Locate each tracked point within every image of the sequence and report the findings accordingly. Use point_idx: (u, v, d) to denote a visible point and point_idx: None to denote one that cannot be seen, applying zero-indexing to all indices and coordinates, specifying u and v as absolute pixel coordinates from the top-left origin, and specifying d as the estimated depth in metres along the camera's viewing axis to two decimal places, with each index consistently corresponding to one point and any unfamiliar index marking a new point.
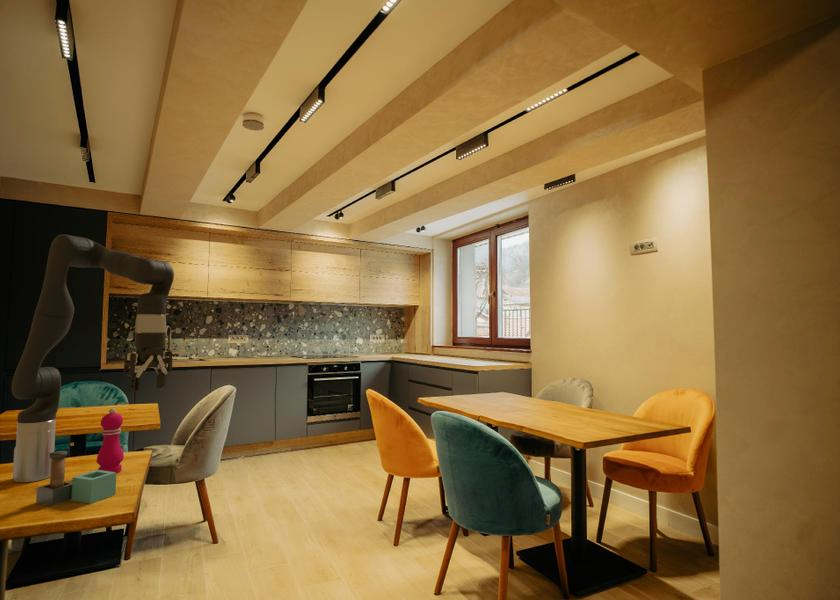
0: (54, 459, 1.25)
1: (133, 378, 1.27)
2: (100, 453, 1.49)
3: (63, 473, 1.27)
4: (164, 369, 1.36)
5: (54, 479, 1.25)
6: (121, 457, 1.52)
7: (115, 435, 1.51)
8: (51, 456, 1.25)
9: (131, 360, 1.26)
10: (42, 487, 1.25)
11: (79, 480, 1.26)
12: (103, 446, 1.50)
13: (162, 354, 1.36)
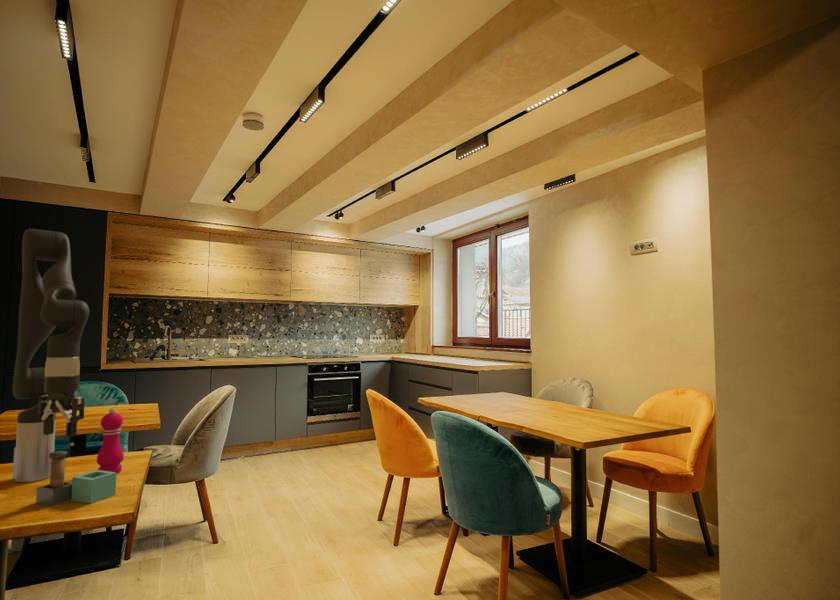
0: (54, 459, 1.25)
1: (75, 422, 1.26)
2: (100, 453, 1.49)
3: (63, 473, 1.27)
4: None
5: (54, 479, 1.25)
6: (121, 457, 1.52)
7: (115, 435, 1.51)
8: (51, 456, 1.25)
9: (83, 403, 1.26)
10: (42, 487, 1.25)
11: (79, 480, 1.26)
12: (103, 446, 1.50)
13: None
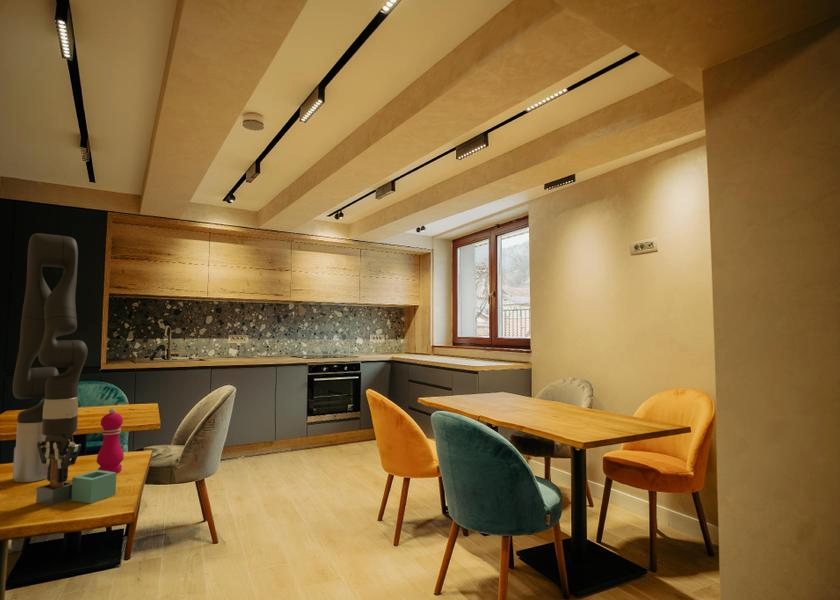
0: (54, 459, 1.25)
1: (66, 467, 1.26)
2: (100, 453, 1.49)
3: None
4: None
5: (54, 479, 1.25)
6: (121, 457, 1.52)
7: (115, 435, 1.51)
8: (51, 456, 1.25)
9: (78, 451, 1.26)
10: (42, 487, 1.25)
11: (79, 480, 1.26)
12: (103, 446, 1.50)
13: None
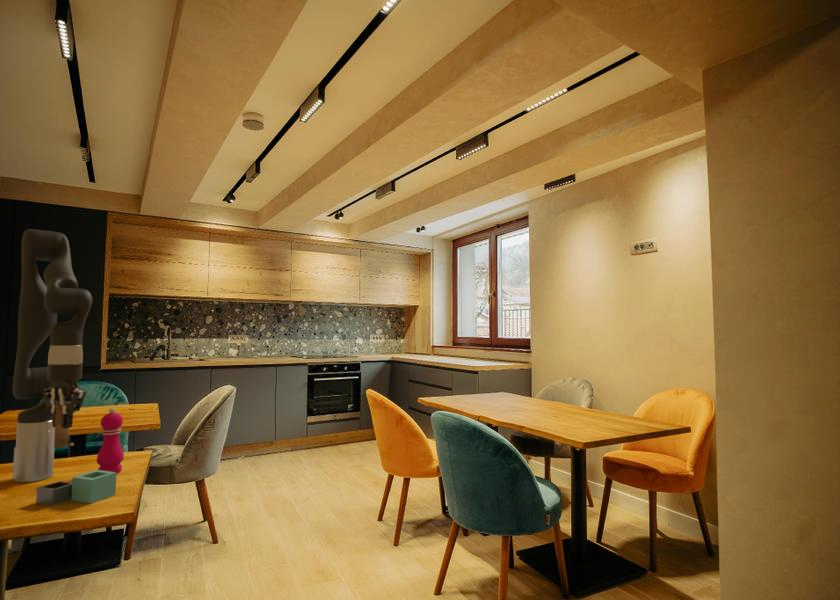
0: (59, 405, 1.26)
1: (71, 414, 1.27)
2: (100, 453, 1.49)
3: None
4: None
5: (59, 425, 1.26)
6: (121, 457, 1.52)
7: (115, 435, 1.51)
8: (56, 402, 1.26)
9: (83, 397, 1.27)
10: (42, 487, 1.25)
11: (79, 480, 1.26)
12: (103, 446, 1.50)
13: None
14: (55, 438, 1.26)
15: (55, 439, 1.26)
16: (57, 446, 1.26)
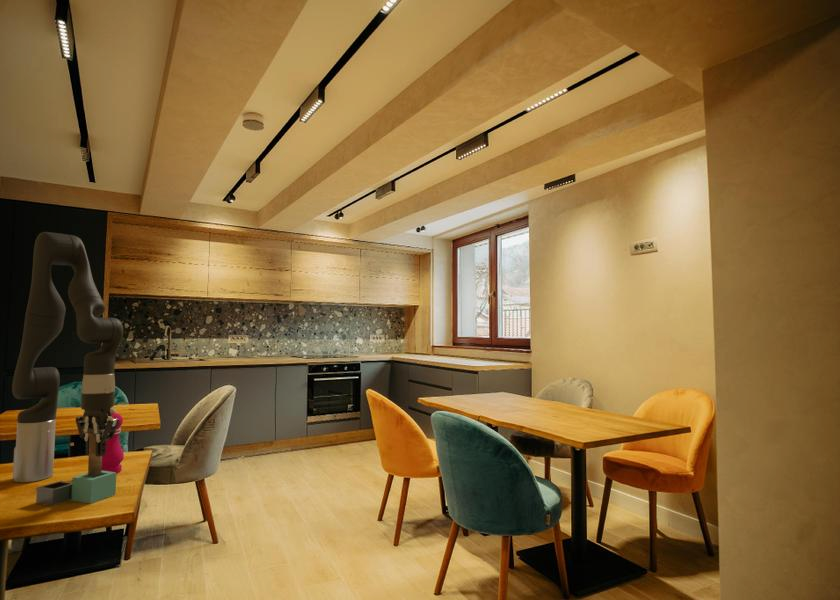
0: (93, 433, 1.28)
1: (105, 442, 1.29)
2: None
3: None
4: None
5: (93, 453, 1.28)
6: (121, 457, 1.52)
7: (115, 435, 1.51)
8: (90, 430, 1.28)
9: (116, 426, 1.29)
10: (42, 487, 1.25)
11: (79, 480, 1.26)
12: None
13: None
14: (89, 466, 1.28)
15: (89, 467, 1.28)
16: (91, 474, 1.27)
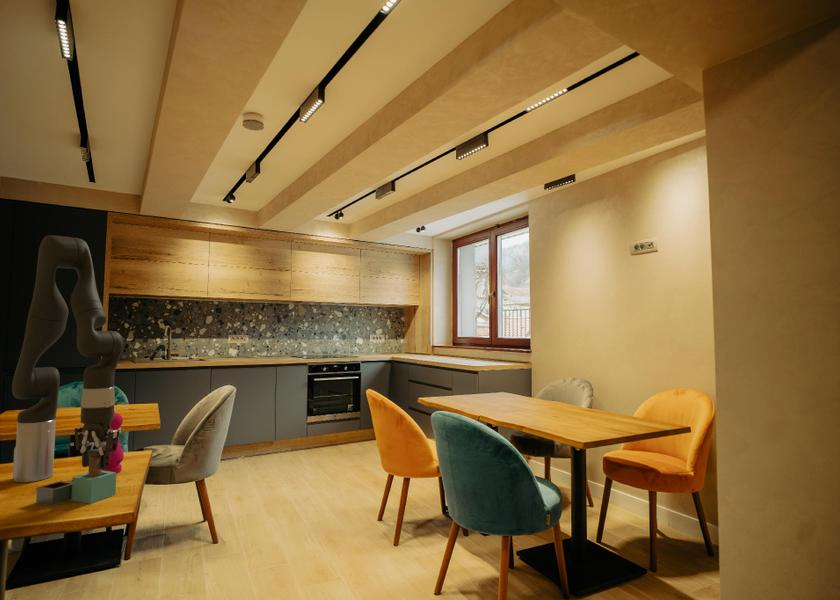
0: (92, 456, 1.28)
1: (108, 454, 1.28)
2: None
3: (100, 470, 1.29)
4: None
5: (93, 477, 1.28)
6: (121, 457, 1.52)
7: None
8: (89, 454, 1.27)
9: (117, 437, 1.28)
10: (42, 487, 1.25)
11: (79, 480, 1.26)
12: (103, 446, 1.50)
13: None
14: None
15: None
16: None
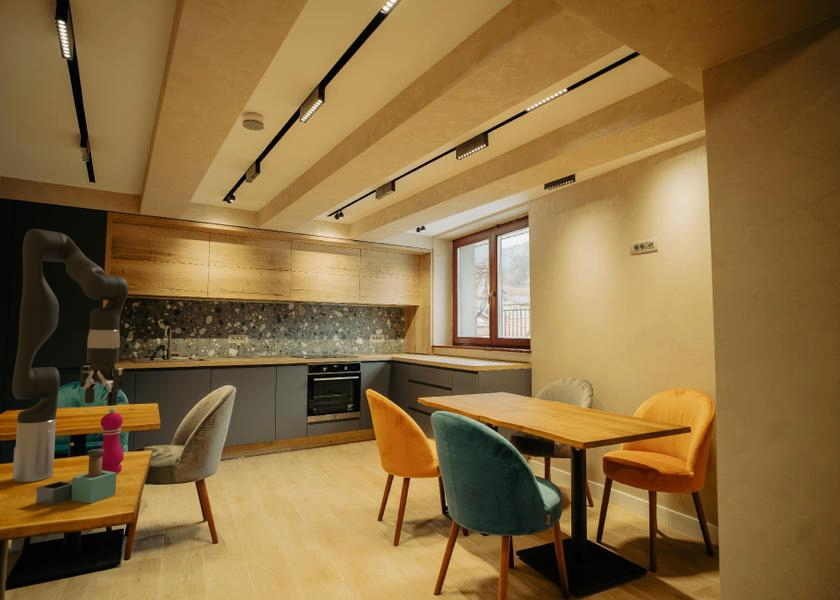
0: (92, 456, 1.28)
1: (116, 392, 1.32)
2: None
3: (100, 470, 1.29)
4: None
5: (92, 477, 1.28)
6: (121, 457, 1.52)
7: (115, 435, 1.51)
8: (89, 454, 1.27)
9: (123, 374, 1.33)
10: (42, 487, 1.25)
11: (79, 480, 1.26)
12: (103, 446, 1.50)
13: None
14: None
15: None
16: None
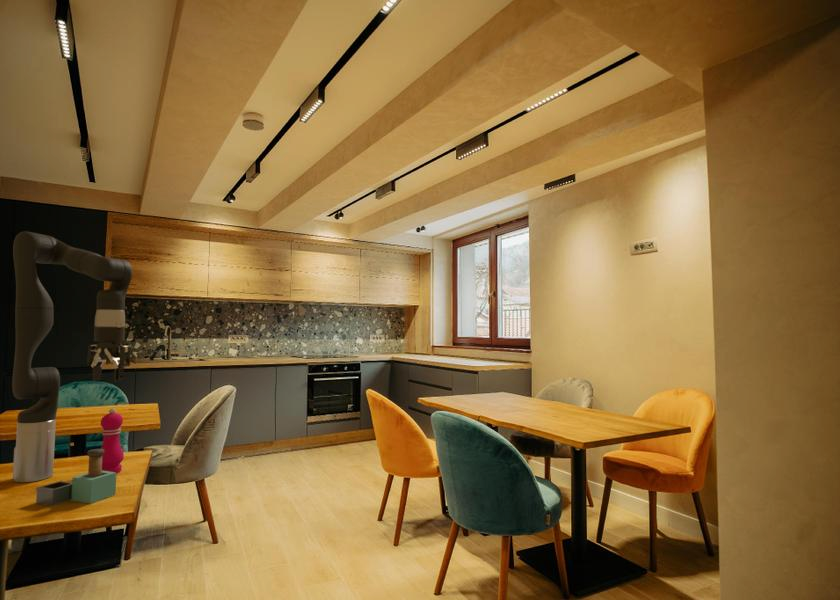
0: (92, 457, 1.28)
1: (122, 368, 1.39)
2: None
3: (100, 470, 1.29)
4: None
5: (92, 477, 1.28)
6: (121, 457, 1.52)
7: (115, 435, 1.51)
8: (89, 454, 1.27)
9: (129, 351, 1.40)
10: (42, 487, 1.25)
11: (79, 480, 1.26)
12: (103, 446, 1.50)
13: None
14: None
15: None
16: None
